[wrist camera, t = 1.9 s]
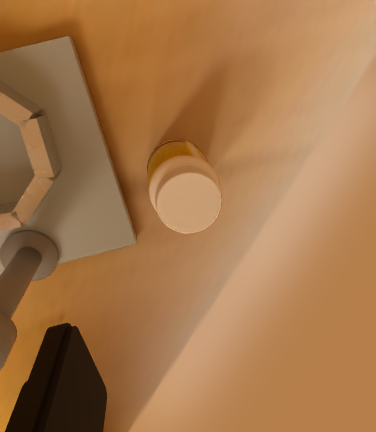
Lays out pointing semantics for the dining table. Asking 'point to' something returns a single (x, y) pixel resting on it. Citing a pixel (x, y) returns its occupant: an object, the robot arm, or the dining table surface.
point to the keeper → (6, 337)
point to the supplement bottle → (183, 187)
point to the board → (70, 172)
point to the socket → (38, 153)
